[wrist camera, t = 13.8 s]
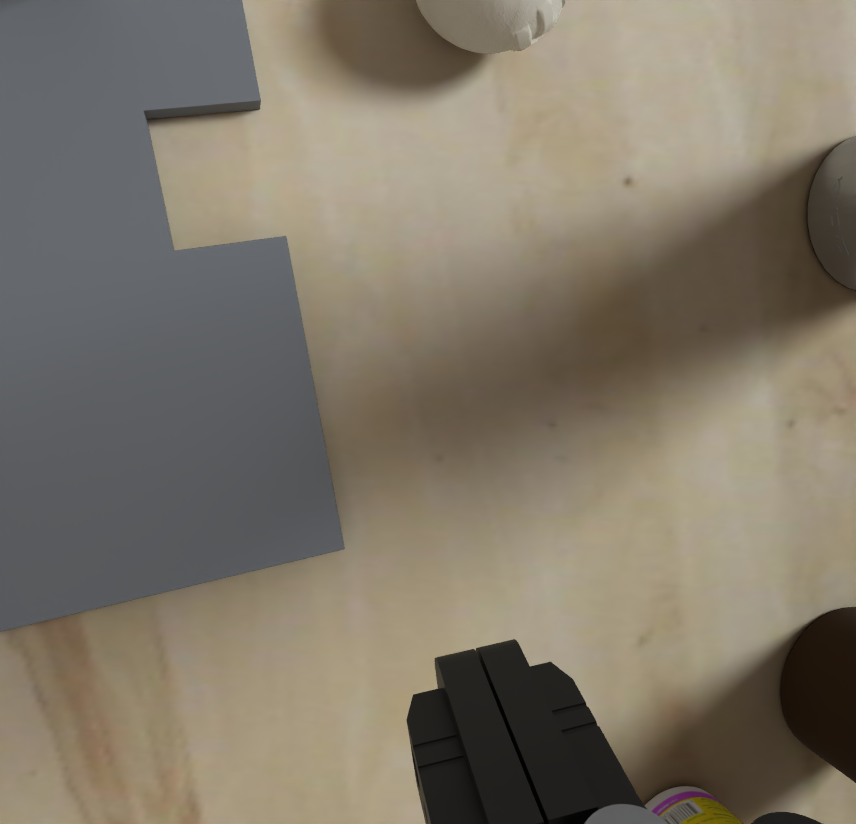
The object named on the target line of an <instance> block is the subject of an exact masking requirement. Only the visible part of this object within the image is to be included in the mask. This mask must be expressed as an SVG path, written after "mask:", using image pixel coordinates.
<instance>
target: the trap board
mask: <svg viewBox="0 0 856 824" xmlns="http://www.w3.org/2000/svg"><path fill="white" fill-rule="evenodd" d="M260 102H261V99H260V94H259V89H258V83H257V78H256V73H255V67H254V62H253V57H252V51H251V46H250V41H249V35H248V30H247V25H246V19H245V14H244V9H243V3H242V0H0V632H1V631H5V630H9V629H13V628H18V627H22V626H26V625H30V624H34V623H38V622H43V621H47V620H51V619H55V618H59V617H63V616H67V615H72V614H76V613H80V612H84V611H88V610H92V609H97V608H101V607H105V606H109V605H113V604H117V603H122V602H126V601H130V600H134V599H138V598H142V597H147V596H151V595H155V594H159V593H163V592H167V591H172V590H176V589H180V588H184V587H188V586H192V585H197V584H201V583H205V582H209V581H213V580H217V579H222V578H226V577H230V576H234V575H238V574H242V573H246V572H251V571H255V570H259V569H263V568H267V567H271V566H276V565H280V564H284V563H288V562H292V561H296V560H301V559H305V558H309V557H313V556H317V555H321V554H326V553H330V552H334V551H338V550H342V549H345V548H344V543H343V537H342V532H341V527H340V521H339V516H338V511H337V505H336V500H335V495H334V489H333V484H332V479H331V473H330V468H329V462H328V457H327V452H326V446H325V441H324V436H323V430H322V425H321V420H320V414H319V409H318V404H317V398H316V393H315V388H314V382H313V377H312V372H311V366H310V361H309V356H308V350H307V345H306V340H305V334H304V329H303V324H302V318H301V313H300V308H299V302H298V297H297V292H296V286H295V281H294V276H293V270H292V265H291V260H290V254H289V249H288V244H287V238H286V236H282V237H275V238H267V239H260V240H252V241H245V242H237V243H230V244H222V245H214V246H207V247H199V248H192V249H184V250H177V251H174V247H173V243H172V238H171V233H170V228H169V223H168V218H167V214H166V209H165V204H164V199H163V194H162V190H161V185H160V180H159V175H158V170H157V165H156V161H155V156H154V151H153V146H152V141H151V137H150V132H149V127H148V122H147V119H155V118H166V117H177V116H188V115H200V114H211V113H222V112H233V111H244V110H255V109H260Z"/></svg>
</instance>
